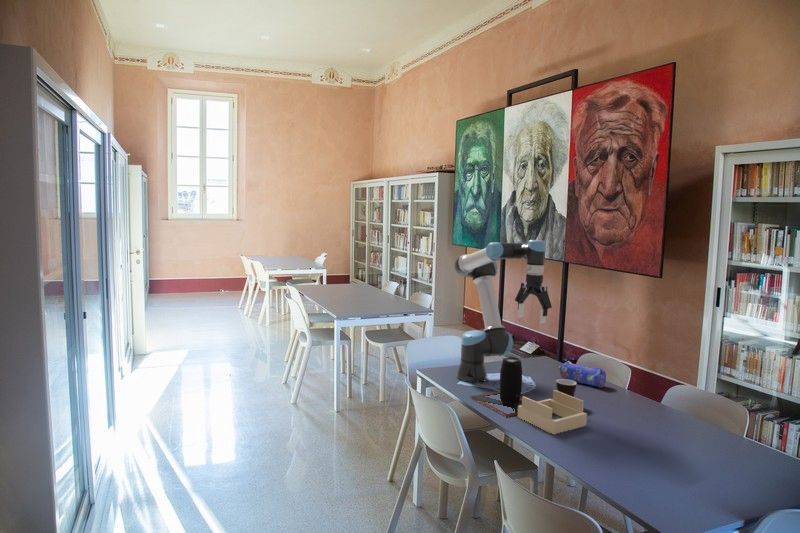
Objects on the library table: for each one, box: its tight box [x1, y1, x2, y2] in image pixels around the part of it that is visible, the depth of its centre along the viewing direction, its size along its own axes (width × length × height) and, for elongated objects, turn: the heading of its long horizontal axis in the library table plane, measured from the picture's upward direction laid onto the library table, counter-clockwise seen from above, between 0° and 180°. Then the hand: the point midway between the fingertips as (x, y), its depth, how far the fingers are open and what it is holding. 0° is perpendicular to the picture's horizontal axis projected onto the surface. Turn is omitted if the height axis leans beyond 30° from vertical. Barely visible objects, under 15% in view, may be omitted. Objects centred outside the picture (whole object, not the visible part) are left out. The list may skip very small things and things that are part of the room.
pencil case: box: [558, 360, 607, 389], centre depth 272 cm, size 22×9×10 cm, turn 48°
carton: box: [516, 389, 588, 435], centre depth 218 cm, size 19×19×10 cm
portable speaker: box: [499, 356, 523, 406], centre depth 234 cm, size 9×9×20 cm
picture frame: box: [469, 391, 522, 418], centre depth 237 cm, size 20×2×25 cm
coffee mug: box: [555, 378, 578, 397], centre depth 241 cm, size 12×9×10 cm
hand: (531, 320), depth 248 cm, fingers open, 13 cm apart
